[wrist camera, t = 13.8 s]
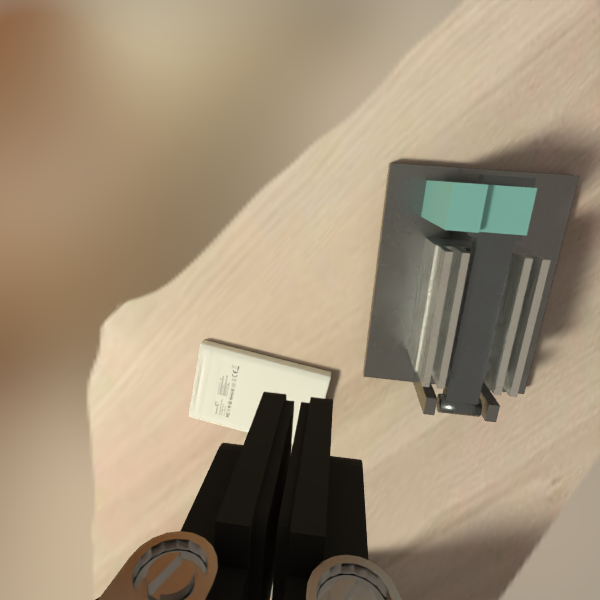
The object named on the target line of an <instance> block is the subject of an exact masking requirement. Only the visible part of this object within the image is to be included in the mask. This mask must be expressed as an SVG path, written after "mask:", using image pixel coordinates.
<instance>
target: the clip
mask: <svg viewBox="0 0 600 600" xmlns="http://www.w3.org/2000/svg"><path fill="white" fill-rule="evenodd" d="M536 192H537V188H528V187H514V186H500V185H486V184H472V183H458V182H444V181H429V180H427V182H426V188H425V195H424V202H423V208H422V215H421V217H422V218H424V219H426V220H428V221H430V222H432V223H433V224H435V225H437V226H439V227H441V228H442V229H444V230H451V231H463V232H475V233H479V232H489V233H501V234H514V235H526V236H527V232H528V227H529V223H530V219H531V214H532V210H533V205H534V201H535V197H536Z"/></svg>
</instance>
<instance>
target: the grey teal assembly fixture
mask: <svg viewBox="0 0 600 600" xmlns="http://www.w3.org/2000/svg"><path fill="white" fill-rule="evenodd" d="M478 175H496V176H510V177H524V178H536V181H535V186H534V188H537V192H536V197H535V201H534V205H533V210H532V214H531V219H530V223H529V227H528V232H527V236H526V235H523V238H522V241H515V242H514V247H513V251H512V256H511V260H510V264H509V269H508V273H507V278H506V282H505V287H504V291H503V296H502V300H501V304H500V309H499V313H498V318H497V322H496V327H495V331H494V335H493V340H492V344H491V349H490V353H489V358H488V362H487V367H486V371H485V375H484V380H483V384H482V389H481V393H480V399H481V402H482V412H481V415H482V416H483V418H484V420H485V421H490V422H496V420H497V416H498V412H499V407H500V405H499V404H498V402H497V401H496V399H495V398H494V396H493V395H492V393H491V392H490V390H491V391H492V392H493V394H495V395H501V393H502V392H507V393H508V395H509V396H513V397H517V394H518V393H520V394H524V392H525V388H526V384H527V380H528V376H529V372H530V368H531V364H532V360H533V356H534V352H535V348H536V344H537V341H538V337H539V333H540V329H541V325H542V321H543V317H544V313H545V309H546V305H547V301H548V297H549V293H550V289H551V285H552V281H553V277H554V273H555V269H556V266H557V262H558V258H559V254H560V250H561V246H562V242H563V238H564V234H565V230H566V226H567V222H568V218H569V214H570V210H571V206H572V202H573V198H574V194H575V191H576V187H577V183H578V179H579V176H574V175H560V174H545V173H530V172H516V171H501V170H487V169H472V168H458V167H443V166H429V165H414V164H399V163H389V169H388V178H387V186H386V194H385V202H384V210H383V218H382V226H381V234H380V242H379V250H378V258H377V266H376V274H375V282H374V290H373V298H372V306H371V314H370V322H369V330H368V338H367V346H366V354H365V362H364V370H363V373H364V377H373V378H382V379H391V380H400V381H409V382H413V383H414V386H415V389H416V392H417V396H418V399H419V402H420V405H421V408H422V411H423V414H429V415H434V413H435V408H436V402H437V397H436V395H435V392H434V390H433V388H432V385H431V384H436V386H437V388H440V389H445V384H446V378H447V373H448V368H449V363H450V357H451V352H452V347H453V342H454V336H455V331H456V326H457V321H458V315H459V310H460V305H461V299H462V294H463V289H464V284H465V278H466V273H467V268H468V263H469V257H470V251H471V246H472V240H473V237H471V236H469V235H467V233H468V232H463V231H451V230H444V229H442V228H441V227H439V226H437V225H435V224H433V223H432V222H430V221H428V220H426V219H424V218H422V217H421V215H422V208H423V202H424V195H425V188H426V182H427V180H429V181H444V182H458V183H472V184H477V180H478Z"/></svg>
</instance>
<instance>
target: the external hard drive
mask: <svg viewBox="0 0 600 600" xmlns="http://www.w3.org/2000/svg"><path fill="white" fill-rule="evenodd" d="M330 379H331V372H330V371H326V370H322V369H318V368H314V367H310V366H306V365H302V364H298V363H294V362H290V361H286V360H282V359H279V358H274V357H271V356H267V355H263V354H259V353H255V352H251V351H247V350H243V349H239V348H235V347H231V346H227V345H223V344H219V343H215V342H212V341H208V340H203V342H202V343H201V345H200V350H199V356H198V362H197V368H196V374H195V380H194V386H193V392H192V398H191V404H190V410H189V417H192V418H195V419H199V420H203V421H207V422H210V423H214V424H218V425H222V426H225V427H229V428H233V429H236V430H240V431H244V432H249V429H250V427H251V424H252V421H253V419H254V416H255V413H256V411H257V408H258V405H259V403H260V400H261V397H262V395H263V392H272V393H280V394H286V397H287V399H286V400H289V401H294V416H293V430H292V444H293V442H294V436H295V431H296V426H297V421H298V416H299V410H300V405H301V402H306V403H310V398H311V397H316V398H324V399H325V397H326V394H327V390H328V387H329V383H330Z"/></svg>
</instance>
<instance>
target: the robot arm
mask: <svg viewBox="0 0 600 600" xmlns="http://www.w3.org/2000/svg"><path fill="white" fill-rule="evenodd" d="M286 399H287V397H286V394H280V393H272V392H263V395H262V397H261V400H260V403H259V405H258V408H257V411H256V413H255V416H254V419H253V421H252V424H251V427H250V429H249V432H248V435H247V437H246V440H245V443H244V445H237V444H229V443H222V444H221V446H220V447H219V449H218V451H217V453H216V456H215V458H214V460H213V462H212V464H211V466H210V469H209V471H208V473H207V475H206V477H205V479H204V482H203V484H202V486H201V488H200V490H199V492H198V495H197V497H196V499H195V501H194V503H193V506H192V508H191V510H190V512H189V514H188V516H187V519H186V521H185V523H184V525H183V527H182V529H181V531H178V532H170V533H165V534H162V535H160V536H157V537H154V538H152V539H151V540H149V541H148V542H146V543H144V544H143V545H141V546H140V547H139V548H138V549H137V550H136V551H135V552H134V553H133V554H132V555H131V557H130V558H129V559H128V560H127V562H126V563H125V564H124V566H123V567H122V569H121V570H120V571H119V573H118V574H117V575H116V577H115V578H114V579H113V581H112V582H111V583H110V585H109V586H108V587H107V589H106V590H105V591H104V593H103V594H102V595H101V597H99V598H98V599H96V600H270V598H271V600H402V599H401V596H400V594H399V592H398V590H397V587H396V585H395V583H394V582H393V580H392V579H391V578H390V577H389V575H388V574H387V573H386V572H385V571H384V570H383V569H381V568H380V567H379V566H377V565H376V564H375V563H373V562H371V561H369V560H368V547H367V531H366V514H365V498H364V482H363V466H362V460H358V459H350V458H341V457H333V456H330V447H331V428H332V409H333V399H324V398H316V397H311V398H310V403H306V402H301V405H300V410H299V416H298V421H297V426H296V431H295V436H294V442H293V447H292V452H291V444H292V430H293V416H294V401H289V400H286Z"/></svg>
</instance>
